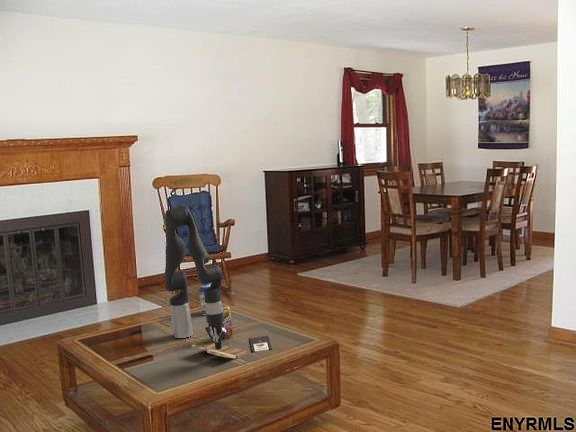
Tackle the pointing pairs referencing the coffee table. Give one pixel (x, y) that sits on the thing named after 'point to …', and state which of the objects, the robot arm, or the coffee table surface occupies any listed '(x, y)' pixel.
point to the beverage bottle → (202, 298)
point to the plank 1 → (202, 347)
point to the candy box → (227, 322)
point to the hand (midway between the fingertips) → (218, 349)
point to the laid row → (229, 350)
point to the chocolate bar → (260, 344)
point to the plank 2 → (221, 354)
